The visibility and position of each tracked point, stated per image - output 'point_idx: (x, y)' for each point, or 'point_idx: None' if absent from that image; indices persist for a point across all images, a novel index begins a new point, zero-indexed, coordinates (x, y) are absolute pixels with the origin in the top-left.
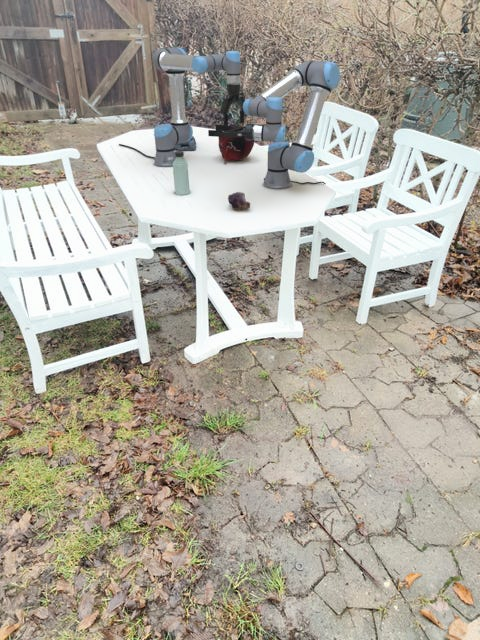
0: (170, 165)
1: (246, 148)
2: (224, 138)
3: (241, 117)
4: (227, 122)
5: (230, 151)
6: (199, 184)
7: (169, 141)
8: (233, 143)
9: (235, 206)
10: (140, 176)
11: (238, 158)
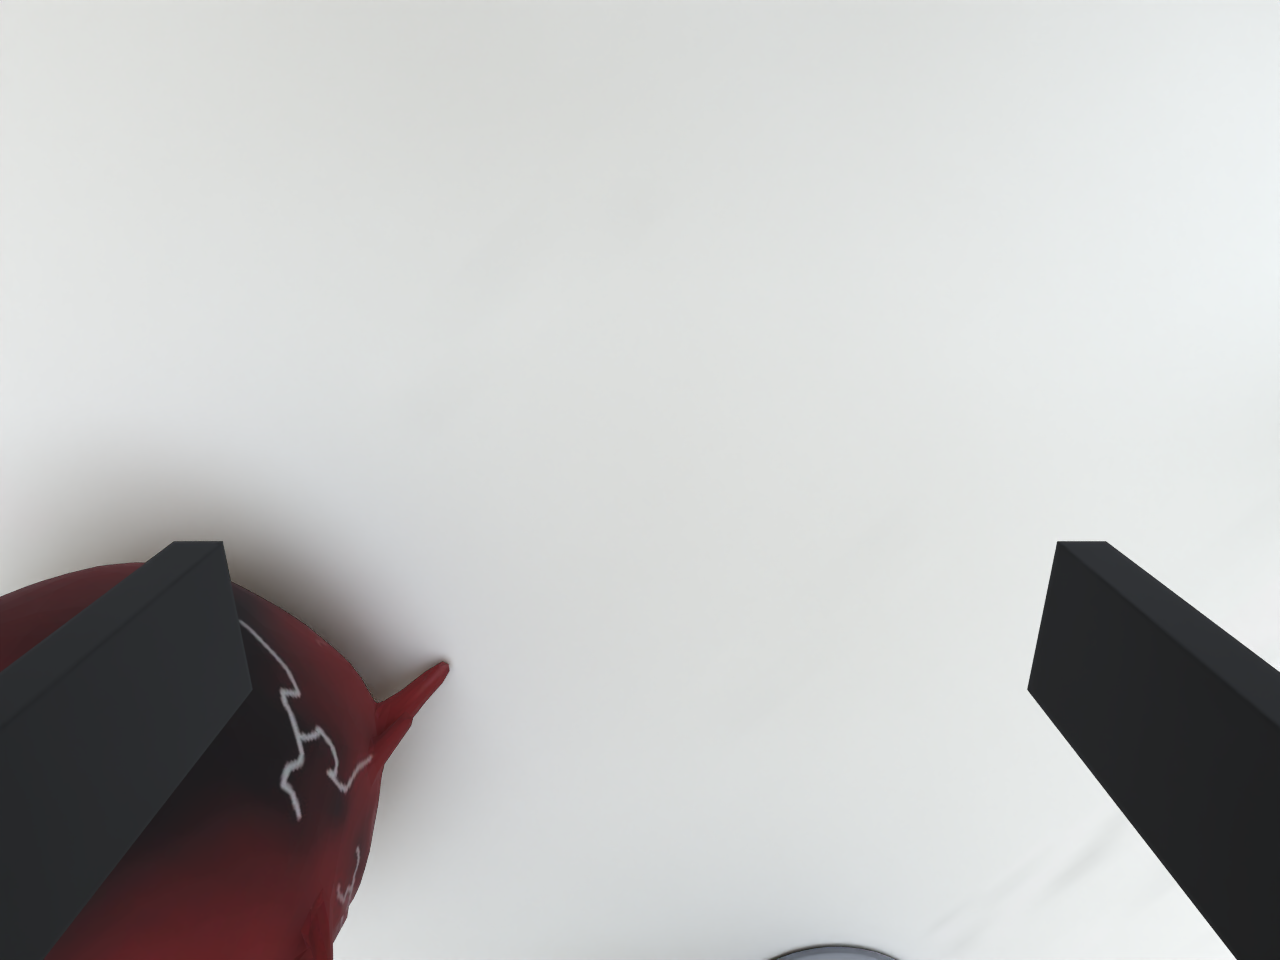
0: (876, 957)
1: None
2: (300, 924)
3: (120, 757)
4: (1198, 625)
5: (345, 712)
6: (1207, 355)
7: None
8: (269, 753)
9: None
10: None
11: (283, 610)
